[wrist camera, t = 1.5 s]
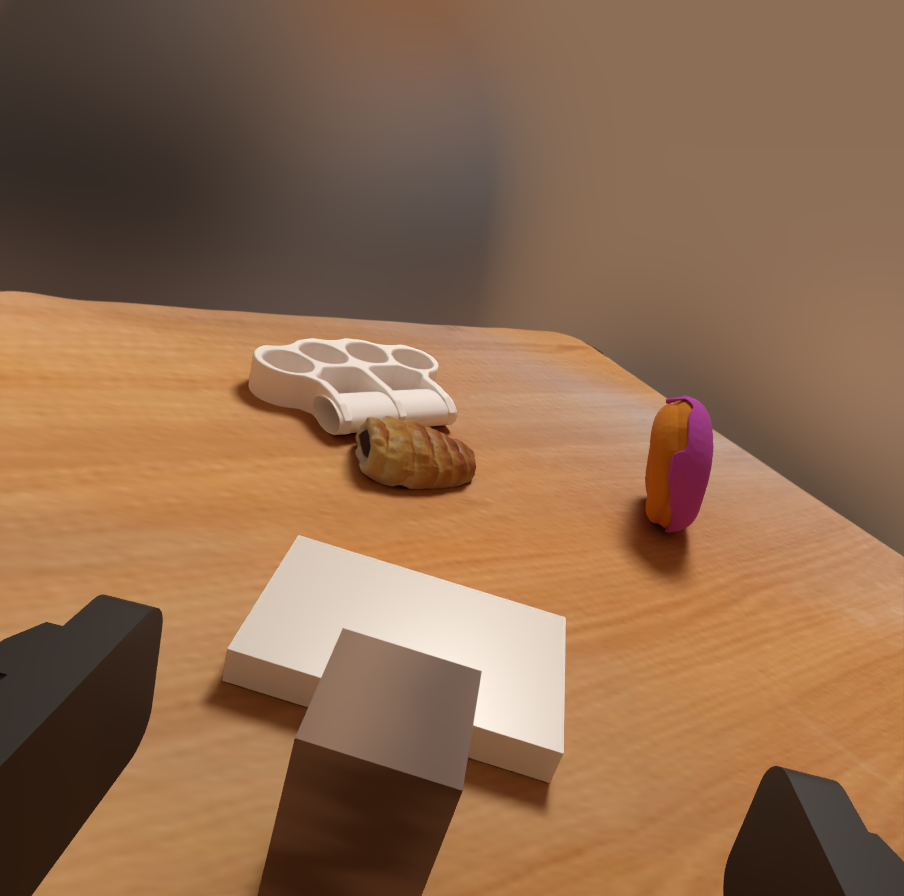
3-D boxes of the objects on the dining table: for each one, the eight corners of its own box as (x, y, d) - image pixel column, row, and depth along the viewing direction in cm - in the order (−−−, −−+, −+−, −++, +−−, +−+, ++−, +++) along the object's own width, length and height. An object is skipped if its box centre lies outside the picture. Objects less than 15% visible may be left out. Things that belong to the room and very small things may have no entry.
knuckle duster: (299, 450, 57) (224, 366, 67) (479, 432, 68) (393, 363, 78) (306, 410, 56) (228, 331, 65) (489, 399, 67) (400, 332, 76)
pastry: (458, 454, 63) (471, 414, 61) (482, 500, 57) (497, 457, 56) (347, 443, 60) (357, 400, 58) (361, 491, 54) (373, 445, 52)
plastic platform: (221, 680, 36) (227, 648, 35) (292, 562, 45) (298, 535, 44) (549, 783, 35) (563, 753, 34) (554, 643, 44) (565, 617, 43)
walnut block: (246, 940, 26) (294, 737, 22) (295, 816, 31) (342, 628, 26) (386, 984, 26) (462, 790, 22) (413, 854, 30) (481, 671, 26)
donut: (722, 530, 63) (776, 424, 58) (661, 555, 57) (716, 438, 52) (647, 480, 68) (691, 379, 63) (583, 498, 61) (627, 387, 57)
